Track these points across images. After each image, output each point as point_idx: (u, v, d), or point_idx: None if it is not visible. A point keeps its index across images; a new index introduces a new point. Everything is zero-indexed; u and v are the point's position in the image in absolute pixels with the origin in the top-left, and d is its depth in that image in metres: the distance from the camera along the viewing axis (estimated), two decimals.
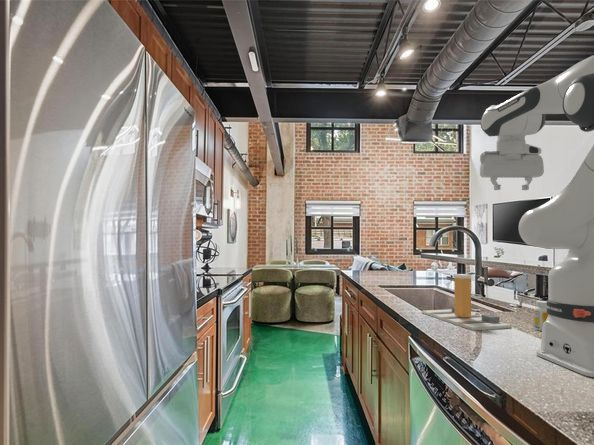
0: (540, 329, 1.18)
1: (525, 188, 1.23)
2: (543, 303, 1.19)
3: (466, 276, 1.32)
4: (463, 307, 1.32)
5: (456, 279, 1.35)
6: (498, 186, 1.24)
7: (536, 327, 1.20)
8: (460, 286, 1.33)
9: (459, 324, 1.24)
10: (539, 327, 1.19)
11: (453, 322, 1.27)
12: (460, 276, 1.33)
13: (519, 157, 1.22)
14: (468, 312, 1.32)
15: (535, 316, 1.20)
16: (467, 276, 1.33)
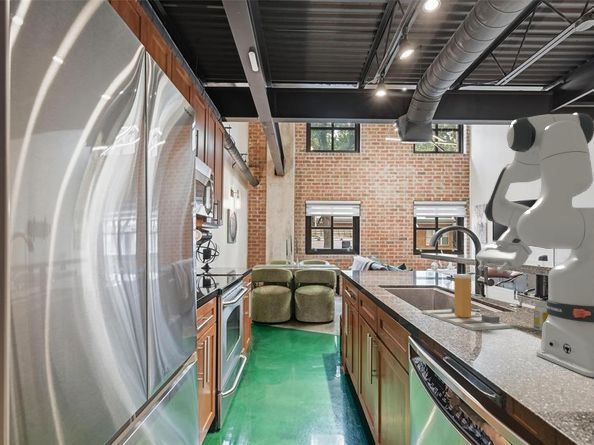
0: (540, 329, 1.18)
1: (497, 269, 1.34)
2: (543, 303, 1.19)
3: (466, 276, 1.32)
4: (463, 307, 1.32)
5: (456, 279, 1.35)
6: (480, 265, 1.42)
7: (536, 327, 1.20)
8: (460, 286, 1.33)
9: (459, 324, 1.24)
10: (539, 327, 1.19)
11: (453, 322, 1.27)
12: (460, 276, 1.33)
13: (504, 246, 1.38)
14: (468, 312, 1.32)
15: (535, 316, 1.20)
16: (467, 276, 1.33)
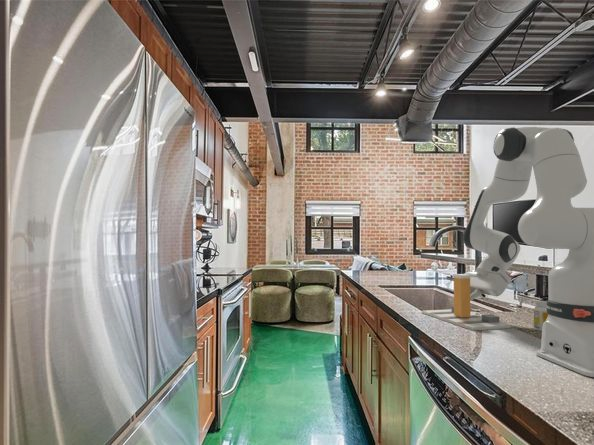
0: (540, 329, 1.18)
1: None
2: (543, 303, 1.19)
3: (465, 276, 1.32)
4: (463, 307, 1.32)
5: (455, 279, 1.35)
6: None
7: (536, 327, 1.20)
8: (459, 286, 1.33)
9: (459, 324, 1.24)
10: (539, 327, 1.19)
11: (453, 322, 1.27)
12: (459, 276, 1.33)
13: (483, 273, 1.35)
14: (467, 312, 1.32)
15: (535, 316, 1.20)
16: (466, 276, 1.32)
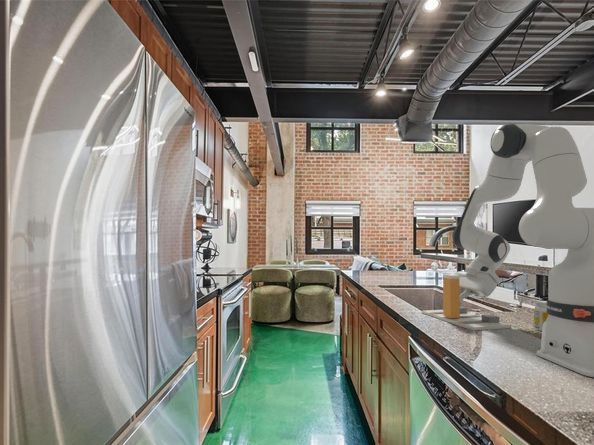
0: (540, 329, 1.18)
1: None
2: (543, 303, 1.19)
3: (454, 276, 1.31)
4: (452, 308, 1.30)
5: (444, 279, 1.33)
6: None
7: (536, 327, 1.20)
8: (448, 286, 1.31)
9: (459, 324, 1.24)
10: (539, 327, 1.19)
11: (453, 322, 1.27)
12: (448, 276, 1.31)
13: (472, 273, 1.34)
14: (456, 313, 1.31)
15: (535, 316, 1.20)
16: (456, 276, 1.31)
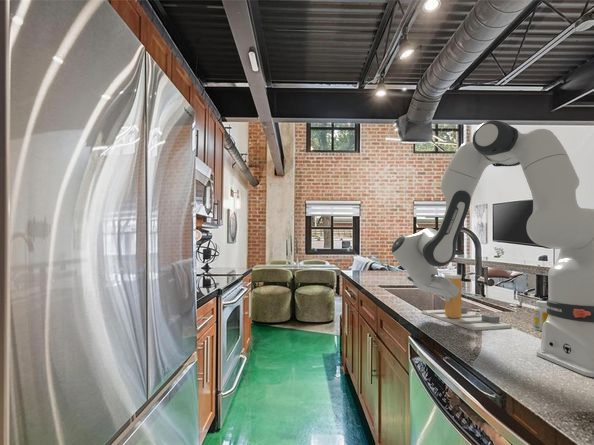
0: (540, 329, 1.18)
1: None
2: (543, 303, 1.19)
3: (456, 276, 1.31)
4: (453, 308, 1.31)
5: None
6: None
7: (536, 327, 1.20)
8: None
9: (459, 324, 1.24)
10: (539, 327, 1.19)
11: (453, 322, 1.27)
12: (450, 276, 1.31)
13: None
14: (458, 312, 1.31)
15: (535, 316, 1.20)
16: (457, 276, 1.31)
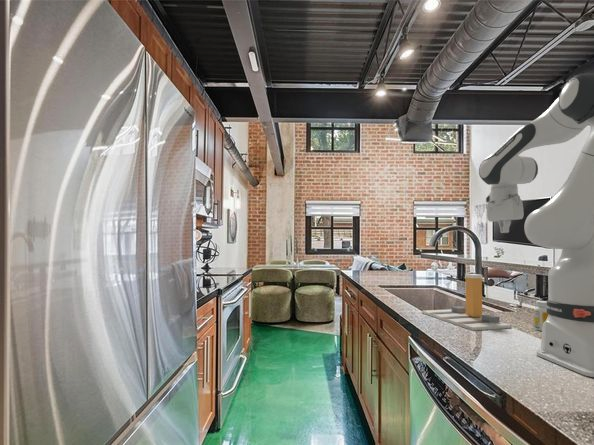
0: (540, 329, 1.18)
1: None
2: (543, 303, 1.19)
3: (477, 276, 1.34)
4: (474, 307, 1.33)
5: (467, 279, 1.36)
6: None
7: (536, 327, 1.20)
8: (471, 286, 1.34)
9: (459, 324, 1.24)
10: (539, 327, 1.19)
11: (453, 322, 1.27)
12: (471, 276, 1.34)
13: None
14: (479, 311, 1.33)
15: (535, 316, 1.20)
16: (478, 276, 1.34)
